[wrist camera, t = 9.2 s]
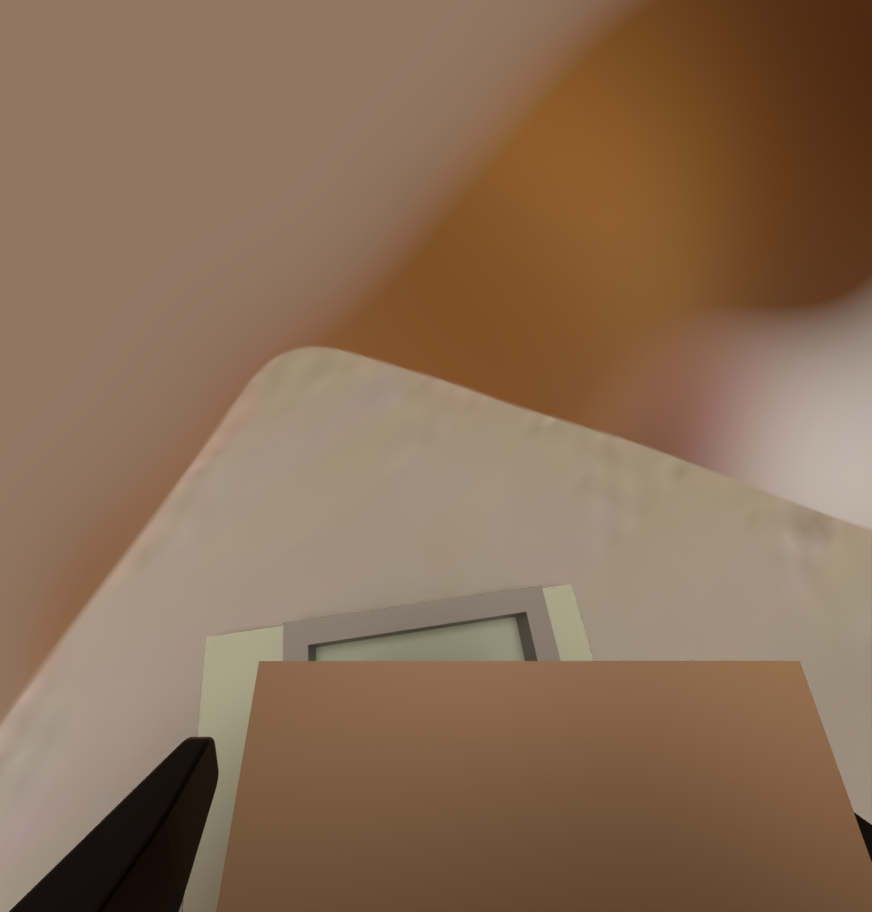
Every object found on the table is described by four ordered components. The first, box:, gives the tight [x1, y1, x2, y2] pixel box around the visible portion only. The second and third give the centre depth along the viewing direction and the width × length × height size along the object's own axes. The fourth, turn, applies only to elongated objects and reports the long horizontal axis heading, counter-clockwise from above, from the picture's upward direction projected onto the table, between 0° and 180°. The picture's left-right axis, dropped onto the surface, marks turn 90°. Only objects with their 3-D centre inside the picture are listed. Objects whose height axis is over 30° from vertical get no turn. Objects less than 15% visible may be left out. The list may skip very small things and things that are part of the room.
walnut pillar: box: [216, 661, 872, 912], centre depth 8 cm, size 5×5×13 cm
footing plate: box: [183, 584, 593, 912], centre depth 12 cm, size 17×14×3 cm
